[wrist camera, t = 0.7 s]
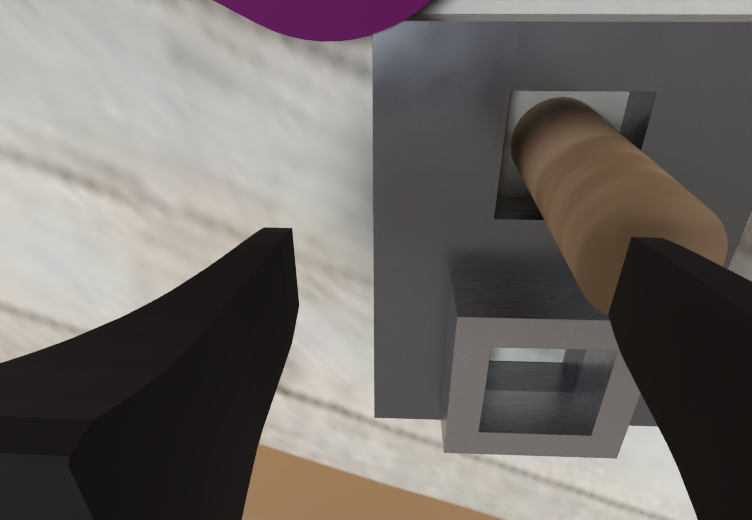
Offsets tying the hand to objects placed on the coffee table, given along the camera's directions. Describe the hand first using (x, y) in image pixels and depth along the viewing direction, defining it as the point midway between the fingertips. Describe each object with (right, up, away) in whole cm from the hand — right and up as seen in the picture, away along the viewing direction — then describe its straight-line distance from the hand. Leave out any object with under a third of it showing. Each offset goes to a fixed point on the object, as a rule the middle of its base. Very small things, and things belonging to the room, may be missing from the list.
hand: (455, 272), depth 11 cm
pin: (+5, +5, +9) cm, 11 cm away
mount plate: (+5, +1, +11) cm, 12 cm away
